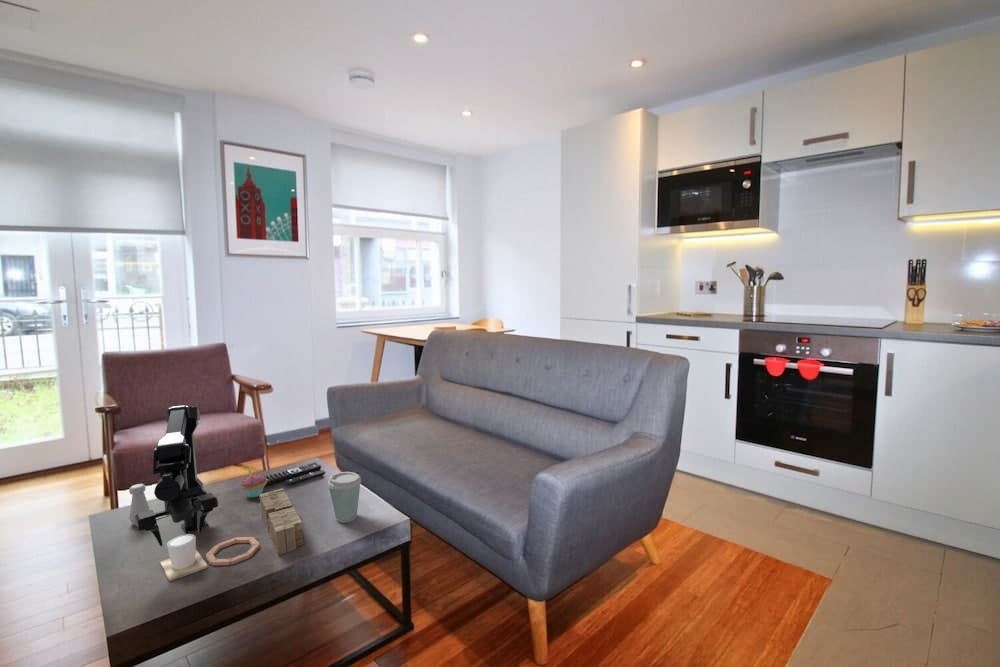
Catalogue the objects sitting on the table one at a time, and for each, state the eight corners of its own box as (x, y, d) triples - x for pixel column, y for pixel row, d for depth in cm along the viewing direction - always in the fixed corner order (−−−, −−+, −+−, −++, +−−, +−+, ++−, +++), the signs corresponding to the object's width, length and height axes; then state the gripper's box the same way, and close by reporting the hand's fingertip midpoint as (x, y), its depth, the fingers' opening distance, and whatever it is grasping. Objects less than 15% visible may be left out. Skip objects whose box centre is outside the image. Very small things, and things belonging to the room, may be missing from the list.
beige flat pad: (160, 563, 139) (160, 561, 139) (196, 550, 146) (196, 548, 145) (169, 582, 131) (169, 579, 131) (207, 567, 137) (207, 565, 137)
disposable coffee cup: (357, 507, 171) (355, 466, 169) (367, 520, 162) (365, 477, 160) (326, 516, 165) (323, 474, 163) (335, 530, 156) (332, 485, 154)
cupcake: (237, 499, 178) (234, 468, 177) (250, 489, 187) (247, 459, 185) (260, 499, 178) (258, 468, 177) (272, 489, 186) (269, 459, 185)
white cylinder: (192, 553, 143) (190, 531, 142) (202, 561, 139) (199, 538, 138) (165, 564, 138) (162, 541, 137) (174, 573, 133) (171, 549, 133)
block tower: (305, 549, 147) (285, 509, 171) (303, 523, 146) (284, 486, 170) (276, 558, 143) (260, 515, 167) (274, 531, 141) (259, 492, 165)
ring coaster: (202, 552, 144) (202, 549, 144) (249, 535, 154) (249, 532, 153) (215, 571, 135) (214, 567, 135) (264, 551, 144) (264, 548, 144)
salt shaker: (125, 525, 161) (121, 488, 160) (143, 517, 167) (138, 480, 165) (139, 528, 159) (134, 490, 158) (155, 519, 165) (151, 482, 163)
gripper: (139, 507, 123) (145, 565, 125) (221, 484, 136) (226, 537, 138) (131, 493, 131) (138, 548, 133) (210, 473, 144) (214, 523, 146)
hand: (180, 539), depth 137 cm, fingers open, 9 cm apart
